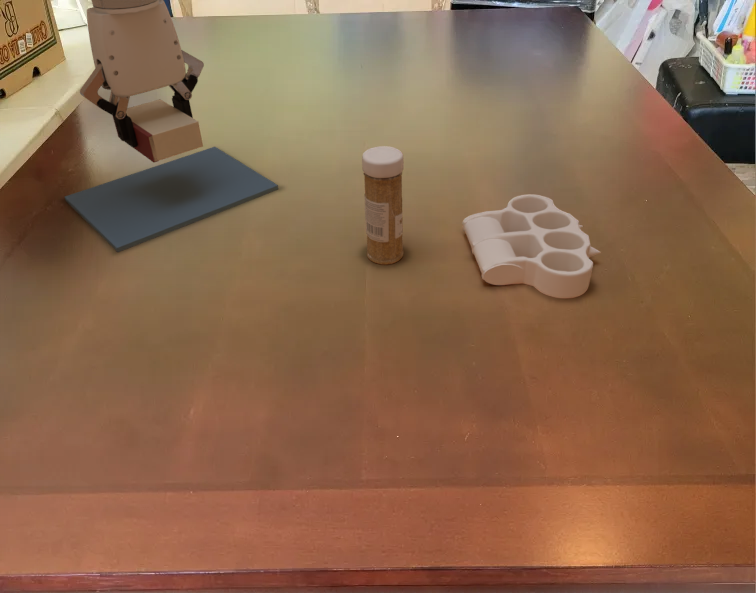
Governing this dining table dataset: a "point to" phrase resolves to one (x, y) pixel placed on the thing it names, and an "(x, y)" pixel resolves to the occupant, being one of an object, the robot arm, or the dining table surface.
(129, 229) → the mat
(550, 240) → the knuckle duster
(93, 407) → the dining table surface
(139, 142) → the book
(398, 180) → the sprinkles bottle
